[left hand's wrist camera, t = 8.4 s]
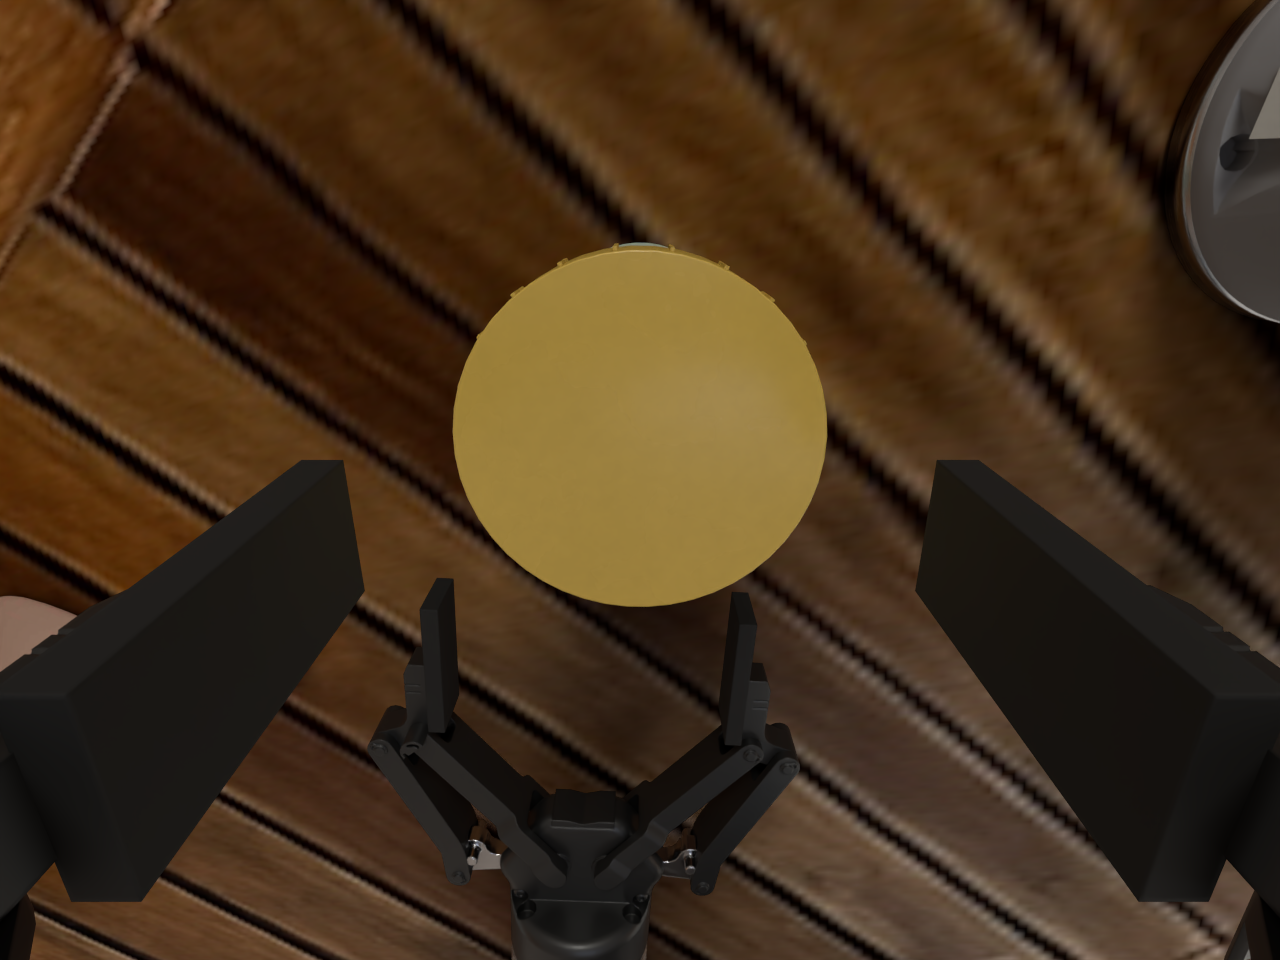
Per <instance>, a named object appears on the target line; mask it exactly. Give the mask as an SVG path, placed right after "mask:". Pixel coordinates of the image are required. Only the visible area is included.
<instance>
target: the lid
mask: <svg viewBox="0 0 1280 960" xmlns="http://www.w3.org/2000/svg"><path fill="white" fill-rule="evenodd" d="M557 265H558V266H557V267H555V268H554V269H552V270H550V271H549V272H547V273H545V274H544V275H542V276H540V277H539V278H537V279H536V280H534V281H533V282H532V283H530V284H529V285H527V286H526V287H525V288H524V287H523V286H522V287H521V288H519V289H518V290H516V291H515V292H513V293H512V294H511V297H512V298H511V299H510V300H509V301H508V302H507V303H506V304H505V305H504V306H503V307H502V308H501V310H500V311H499V312H498V313H497V314H496V315H495V316H494V317H493V318H492V319H491V321H490V322H489V324H488V325H487V326H486V328H485V329H484V331H482V332H481V333H480V334H479V335H478V336H477V341H476V343H475V345H474V347H473V349H472V351H471V353H470V355H469V357H468V359H467V361H466V364H465V367H464V369H463V372H462V375H461V378H460V381H459V384H458V389H457V394H456V400H455V405H454V416H453V440H454V451H455V458H456V462H457V467H458V471H459V475H460V479H461V481H462V484H463V487H464V489H465V492H466V495H467V497H468V500H469V502H470V503H471V505H472V507H473V509H474V511H475V513H476V515H477V517H478V519H479V520H480V521H481V523H482V524H483V526H484V527H485V529H486V530H487V531H488V533H489V534H490V536H491V537H492V538H493V539H494V540H495V541H496V543H497V544H498V545H499V546H500V547H501V548H502V549H503V550H504V551H505V552H506V553H507V554H508V555H509V556H510V557H511V558H512V559H513V560H515V561H516V562H517V563H518V564H519V565H520V566H522V567H523V568H524V569H526V570H527V571H529V572H530V573H532V574H533V575H535V576H536V577H538V578H539V579H541V580H542V581H544V582H546V583H548V584H550V585H552V586H554V587H556V588H558V589H560V590H562V591H564V592H567V593H570V594H572V595H575V596H578V597H580V598H583V599H587V600H591V601H595V602H600V603H604V604H611V605H619V606H628V607H651V606H661V605H671V604H675V603H680V602H685V601H689V600H693V599H696V598H699V597H702V596H705V595H708V594H711V593H714V592H716V591H718V590H720V589H722V588H724V587H726V586H728V585H730V584H733V583H734V582H736V581H738V580H739V579H741V578H742V577H744V576H745V575H747V574H749V573H750V572H752V571H753V570H754V569H756V568H757V567H758V566H759V565H761V564H762V563H763V562H764V561H765V560H767V559H768V558H769V557H770V556H771V555H772V554H773V553H774V552H775V551H776V550H777V549H778V548H779V547H780V546H781V545H782V544H783V543H784V542H785V541H786V539H787V538H788V537H789V535H790V534H791V533H792V531H793V530H794V529H795V527H796V526H797V525H798V523H799V522H800V520H801V518H802V516H803V514H804V513H805V511H806V509H807V507H808V506H809V504H810V502H811V499H812V497H813V494H814V492H815V489H816V487H817V484H818V482H819V478H820V474H821V471H822V467H823V463H824V458H825V450H826V441H827V412H826V406H825V400H824V393H823V388H822V385H821V382H820V379H819V375H818V372H817V369H816V366H815V364H814V362H813V359H812V357H811V355H810V353H809V351H808V349H807V347H806V345H807V343H806V341H805V340H803V339H802V338H801V337H800V335H799V334H798V332H797V331H796V329H795V328H794V326H793V325H792V323H791V322H790V321H789V320H788V319H787V317H786V316H785V315H784V314H783V313H782V312H781V311H780V309H779V308H778V307H777V306H776V305H775V304H774V303H773V302H774V301H775V300H774V299H773V298H772V297H771V296H769V295H768V294H766V293H765V292H763V291H761V292H760V291H759V290H758V289H757V288H755V287H754V286H753V285H751V284H750V283H748V282H747V281H745V280H744V279H742V278H741V277H739V276H738V275H736V274H735V273H733V272H731V271H730V270H728V269H729V266H728V265H726V264H725V263H723V262H721V261H719V262H718V264H717V263H715V262H713V261H711V260H708V259H706V258H704V257H702V256H699V255H695V254H692V253H688V252H685V251H682V250H678V249H675V247H674V246H673V245H670V244H668V248H665V247H659V246H622V247H619V243H617V244H614V246H613V248H606V249H603V250H599V251H595V252H591V253H588V254H584V255H581V256H579V257H576V258H574V259H572V260H569V261H568V259H567V258H565V259H563V260H562V261H560V262H559V263H557Z"/></svg>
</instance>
